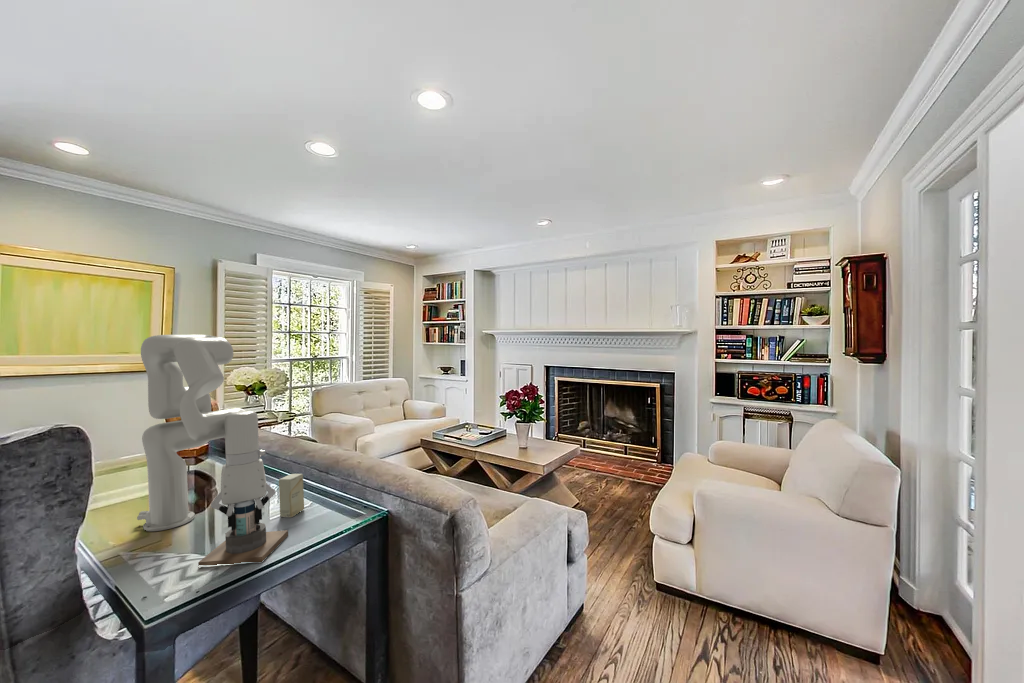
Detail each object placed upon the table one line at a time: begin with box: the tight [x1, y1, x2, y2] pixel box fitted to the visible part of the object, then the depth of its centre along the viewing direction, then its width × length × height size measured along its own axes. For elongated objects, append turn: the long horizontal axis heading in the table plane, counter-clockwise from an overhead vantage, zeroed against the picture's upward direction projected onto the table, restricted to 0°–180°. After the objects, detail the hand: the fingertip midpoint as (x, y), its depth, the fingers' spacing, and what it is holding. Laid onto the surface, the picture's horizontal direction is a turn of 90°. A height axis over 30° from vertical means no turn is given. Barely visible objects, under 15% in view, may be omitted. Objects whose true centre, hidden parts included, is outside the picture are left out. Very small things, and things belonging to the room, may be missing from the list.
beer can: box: [233, 499, 256, 536], centre depth 112 cm, size 5×5×12 cm
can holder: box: [198, 522, 289, 566], centre depth 112 cm, size 15×15×6 cm
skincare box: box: [278, 473, 305, 518], centre depth 136 cm, size 6×4×12 cm
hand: (245, 525), depth 112 cm, fingers closed on beer can, 4 cm apart
